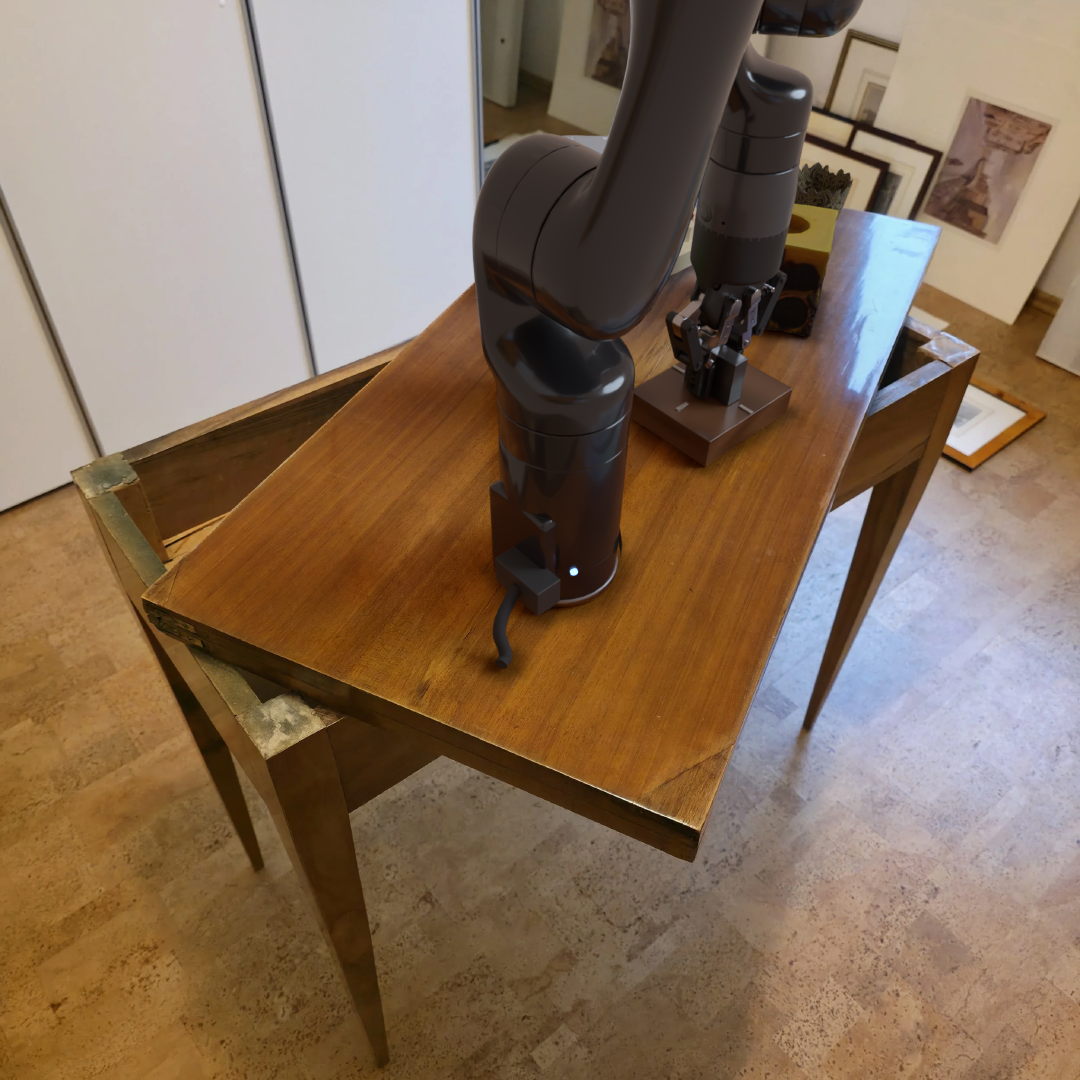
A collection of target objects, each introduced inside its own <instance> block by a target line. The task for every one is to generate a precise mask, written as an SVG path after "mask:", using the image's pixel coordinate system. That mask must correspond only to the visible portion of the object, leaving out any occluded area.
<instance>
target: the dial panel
mask: <svg viewBox="0 0 1080 1080" xmlns="http://www.w3.org/2000/svg"><path fill="white" fill-rule="evenodd" d="M685 369H686V365H685V364H683V363H681V362H680V361H678V362H677V363H675V364H673V365H672V366H670V367H668V368H667V369H665V370H663V371H661V372H660V373H658V374H657V375H654V376H653V377H651V378H649V379H648V380H646V381H644V382H643V383H640V384H639V385H637V386H634V394H633V402H632V412H631V420H633V421H634V422H636V423H638V424H639V425H641V426H642V427H644V428H645V429H647V430H648V431H650V432H652V433H653V434H654V435H656V436H657V437H659V438H661V439H662V440H663V441H665V442H667V443H668V444H669V445H671V446H673V447H674V448H676V449H677V450H679V451H680V452H682V453H683V454H685V455H686V456H687V457H689V458H691V459H692V460H694V461H695V462H697V463H698V464H700V465H701V466H702V467H704V468H706V467H707V466H709V465H710V464H712V463H713V462H716V460H718V459H719V458H721V457H722V456H724V455H726V454H727V453H728V452H730V451H731V450H733V449H735V448H736V447H738V446H739V445H741V444H742V443H744V442H745V441H746V440H748V439H750V438H751V437H753V436H754V435H756V434H758V432H760V431H761V430H763V429H765V428H766V427H768V426H769V425H771V424H772V423H773V422H776V421H777V420H778V419H779V418H781V417H783V416H784V415H786V414H787V412H788V408H789V404H790V400H791V397H792V394H793V393H792V392H793V387H791V386H789V385H788V384H786V383H784V382H782V381H780V380H779V379H777V378H775V377H773V376H772V375H770V374H768V373H766V372H765V371H763V370H761V369H759V368H757V367H755V366H754V365H752V364H750V363H748V362H747V367H746V372H745V376H744V381H743V386H742V390H741V395H740V399H738V400H737V401H735V402H733V403H732V404H730V405H728V406H726V405H725V404H723V403H722V402H720V401H718V400H717V399H715V398H713V397H712V396H709V397H707V398H706V399H704V400H701V399H699V398H698V397H696V396H694V395H693V394H691V393H690V392H689V391H688V390H687V381H686V380H684V376H685Z"/></svg>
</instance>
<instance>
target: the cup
mask: <svg viewBox="0 0 1080 1080" xmlns="http://www.w3.org/2000/svg"><path fill="white" fill-rule="evenodd" d="M829 168H830V166H829V164H825V165H824V166H823V165H822V164H821V163H820V162H819V161H818V162H815V163H814V164H812V165H811V166H810V167H809V165H808V163H805V164H804V165H803V166H802V169H801V168H800V167H799V173H798V186H797V192H796V197H795V202H794V204H800V205H809V206H815V207H821V208H828V209H833V210H838V215H837V219H836V222H837V221H838V219H839V217H840V215H841V213H842V211H843V208H844V206H845V204H846V201H847V198H848V196H849V193H850V190H851V188H852V186H853V182H854V179H852V176H851V172H846V173H845V170H844V169H843V168H840V169H839V170H838V171H837V173H835V172H834V171H830V170H829Z"/></svg>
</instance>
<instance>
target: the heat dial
mask: <svg viewBox="0 0 1080 1080" xmlns="http://www.w3.org/2000/svg"><path fill="white" fill-rule="evenodd" d="M701 349H702V350H704V351H705V352H707V349H708V344H707V343H706V342H705V341H703V342H702V345H701ZM748 361H749V357H746V355H745V356H744V354H743V355H741V354H739V353H738V352H736V351H734V350H732V349H731V348H729V347H727V346H725V345H721V346H720V350H719V353H718V356H717V359H716V362H715V364H714V365H715V370H714V376H713V381H712V387H711V393H710V396H712V397H713V398H715V399H717V400H718V401H720V402H722V403H723V404H725V405H726V406H728V405H730V404H732V403H733V402H735V401H737V400H738V399H740V395H741V390H742V386H743V381H744V376H745V372H746V367H747V363H748ZM688 373H689V367H688V366H686V369H685V376H684V380H686V381H687V379H688Z"/></svg>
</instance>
